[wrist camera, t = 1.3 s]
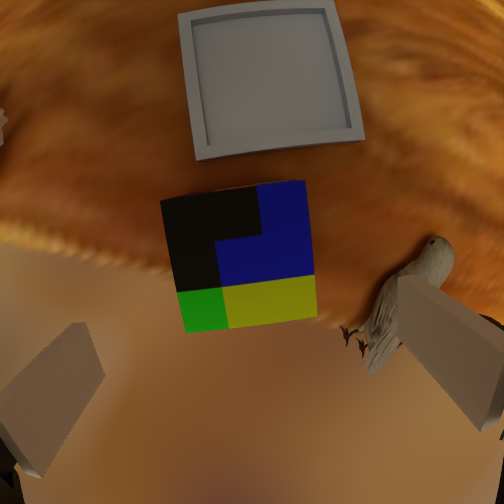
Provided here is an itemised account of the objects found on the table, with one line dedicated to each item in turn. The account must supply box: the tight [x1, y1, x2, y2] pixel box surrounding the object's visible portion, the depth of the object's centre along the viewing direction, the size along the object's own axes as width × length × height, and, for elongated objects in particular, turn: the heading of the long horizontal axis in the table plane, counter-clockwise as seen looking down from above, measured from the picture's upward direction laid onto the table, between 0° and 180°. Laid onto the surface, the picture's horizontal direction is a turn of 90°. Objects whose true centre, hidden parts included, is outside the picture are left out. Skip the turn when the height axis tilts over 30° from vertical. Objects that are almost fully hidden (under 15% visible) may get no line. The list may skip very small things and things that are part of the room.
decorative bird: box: [339, 236, 455, 376], centre depth 30 cm, size 5×16×8 cm, turn 142°
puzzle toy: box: [160, 180, 317, 333], centre depth 27 cm, size 10×10×10 cm
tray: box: [177, 0, 365, 162], centre depth 27 cm, size 16×16×2 cm
